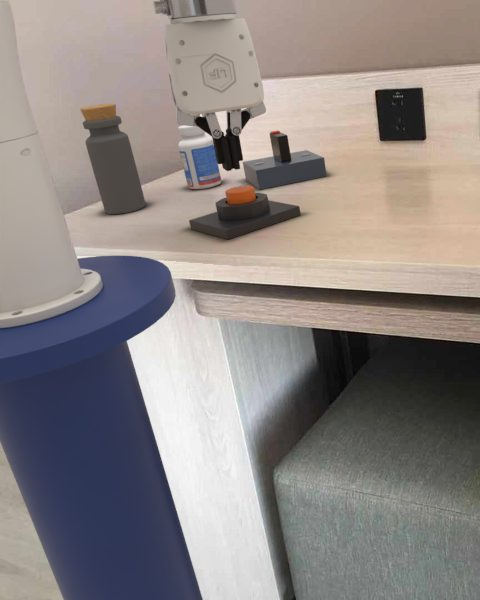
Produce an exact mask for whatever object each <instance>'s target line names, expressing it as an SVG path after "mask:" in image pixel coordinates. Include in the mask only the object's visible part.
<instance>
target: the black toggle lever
mask: <svg viewBox="0 0 480 600" xmlns="http://www.w3.org/2000/svg"><path fill="white" fill-rule="evenodd" d="M269 132H270V133H269V140H270V144H271V151H272V156H274V158H275V159H277V160H278V161H280V162H287V161H291V154H290V153H291V150H290V142H289V136H288V134H285V133H283V132H281V131H280V130H279V129H278V130H277V129H276V130H272V131H269Z"/></svg>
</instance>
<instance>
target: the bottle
mask: <svg viewBox="0 0 480 600" xmlns="http://www.w3.org/2000/svg"><path fill="white" fill-rule="evenodd" d="M79 110H80V112H81V115H82V116H83V118H84V121H82V126H83V129H84V130H88V131H89V136H88V137H87V138H86V139H85V142H84V143H85V146H86V150H87V154H88V157H89V161H90V164H91V168H92V171H93V174H94V178H95V182H96V185H97V188H98V192H99V193H98V194H99V196H100V199H101V202H102V207H103V209H104V212H105V214H107V215H122V214H123V215H124V214H127V213H132V212H136V211H138V210H141V209H143V208H145V207H146V206H147V205H146V200H145V195H144V191H143V188H142V183H141V180H140V176H139V173H138V168H137V165H136V161H135V156H134V153H133V149H132V145H131V142H130V138H129V135H128V133H126V132H124V131H121V130H120V126H119V125H121V124H122V123H123V121H122V118H121V116H119V115H117V105H116V103H112V102H111V103H101V104H94V105H89V106H88V105H87V106H84V107H81V108H80V109H79Z"/></svg>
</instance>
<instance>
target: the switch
mask: <svg viewBox="0 0 480 600" xmlns="http://www.w3.org/2000/svg"><path fill="white" fill-rule="evenodd" d="M224 193H225V198H227V203H228V204H241V203H247V202H250V201H254V200H256V196H255V193H256V191H255V186H254V185H239V186H233V187H231V188H228V189H226V190H225V191H224Z"/></svg>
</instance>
